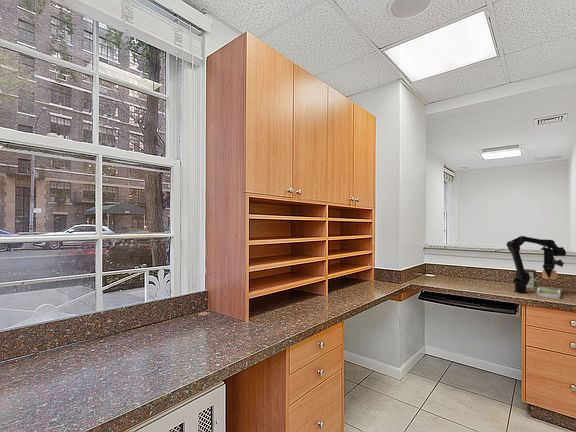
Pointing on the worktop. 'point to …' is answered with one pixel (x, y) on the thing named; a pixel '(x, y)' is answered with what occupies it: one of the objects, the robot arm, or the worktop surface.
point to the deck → (549, 292)
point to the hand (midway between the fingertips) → (549, 276)
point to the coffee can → (531, 278)
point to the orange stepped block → (553, 276)
